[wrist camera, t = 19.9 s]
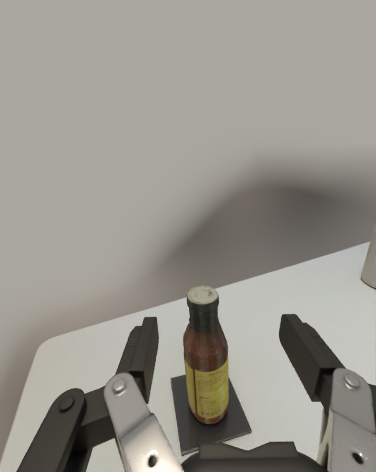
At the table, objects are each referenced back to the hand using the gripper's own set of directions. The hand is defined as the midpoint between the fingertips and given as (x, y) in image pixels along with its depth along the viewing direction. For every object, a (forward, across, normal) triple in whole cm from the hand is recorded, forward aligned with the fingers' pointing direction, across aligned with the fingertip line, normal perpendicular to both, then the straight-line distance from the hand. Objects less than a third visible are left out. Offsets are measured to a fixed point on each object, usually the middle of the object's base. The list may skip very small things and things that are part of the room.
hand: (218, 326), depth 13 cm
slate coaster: (+11, 0, +26) cm, 28 cm away
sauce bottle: (+11, 0, +25) cm, 28 cm away
